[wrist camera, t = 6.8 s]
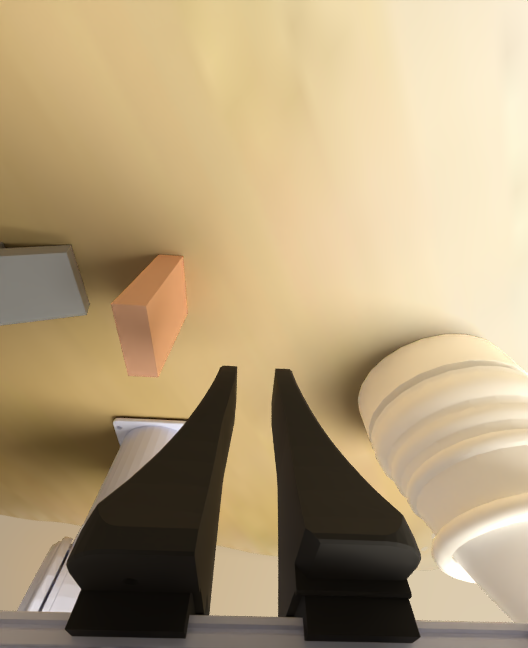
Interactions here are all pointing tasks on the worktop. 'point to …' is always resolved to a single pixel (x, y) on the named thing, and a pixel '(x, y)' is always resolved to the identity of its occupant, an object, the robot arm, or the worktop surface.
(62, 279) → the domino
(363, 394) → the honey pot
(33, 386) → the worktop surface
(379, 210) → the worktop surface
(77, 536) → the robot arm
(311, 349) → the worktop surface
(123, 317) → the tile
